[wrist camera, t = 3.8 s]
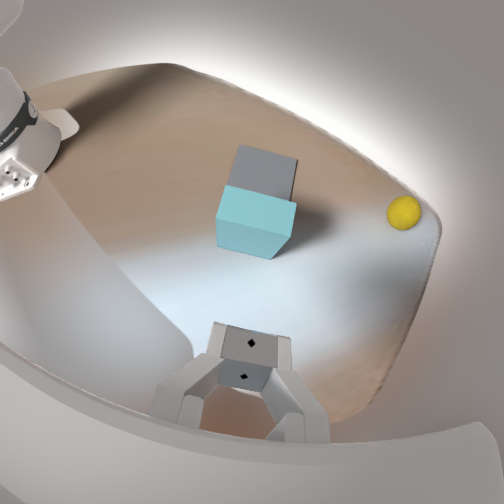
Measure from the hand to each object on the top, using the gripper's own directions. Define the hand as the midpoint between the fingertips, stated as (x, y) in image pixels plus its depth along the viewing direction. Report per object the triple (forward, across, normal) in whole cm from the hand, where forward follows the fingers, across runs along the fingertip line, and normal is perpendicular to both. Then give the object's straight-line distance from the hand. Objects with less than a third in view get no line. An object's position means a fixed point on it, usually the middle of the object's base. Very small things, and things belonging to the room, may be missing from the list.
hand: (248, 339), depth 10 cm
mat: (+35, 0, +4) cm, 35 cm away
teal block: (+28, 0, +11) cm, 30 cm away
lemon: (+36, -24, +4) cm, 43 cm away
